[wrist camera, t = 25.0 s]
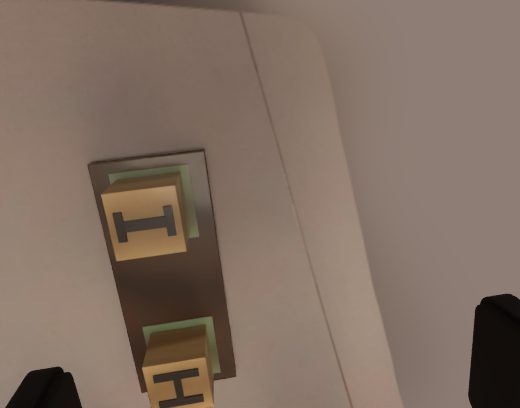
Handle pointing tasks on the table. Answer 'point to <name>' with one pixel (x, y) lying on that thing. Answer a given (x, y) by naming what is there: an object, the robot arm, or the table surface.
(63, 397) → the robot arm
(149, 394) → the tile
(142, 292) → the word board
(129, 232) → the tile
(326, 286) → the table surface
